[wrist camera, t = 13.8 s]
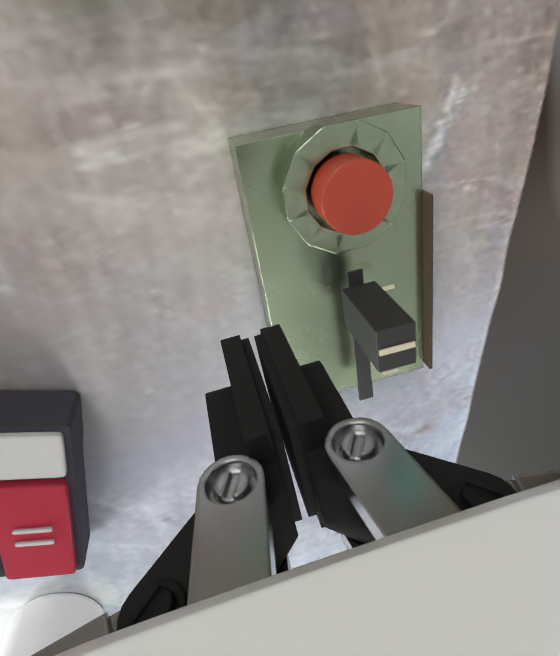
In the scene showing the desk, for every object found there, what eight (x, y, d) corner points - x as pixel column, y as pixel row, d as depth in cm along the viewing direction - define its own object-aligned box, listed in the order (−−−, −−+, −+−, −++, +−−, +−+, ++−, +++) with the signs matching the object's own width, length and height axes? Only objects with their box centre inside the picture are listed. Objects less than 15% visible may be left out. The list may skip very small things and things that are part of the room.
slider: (345, 325, 26) (379, 374, 22) (341, 288, 25) (376, 333, 21) (377, 317, 27) (417, 364, 22) (375, 280, 25) (417, 322, 21)
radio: (278, 378, 34) (293, 421, 30) (226, 133, 25) (237, 144, 21) (403, 345, 35) (436, 382, 31) (395, 97, 26) (439, 101, 22)
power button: (315, 230, 24) (326, 242, 22) (305, 161, 22) (317, 168, 21) (379, 215, 25) (394, 226, 23) (374, 146, 23) (392, 151, 21)
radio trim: (339, 365, 33) (360, 400, 30) (319, 203, 27) (342, 222, 24) (411, 346, 34) (440, 378, 30) (407, 183, 28) (443, 199, 24)
